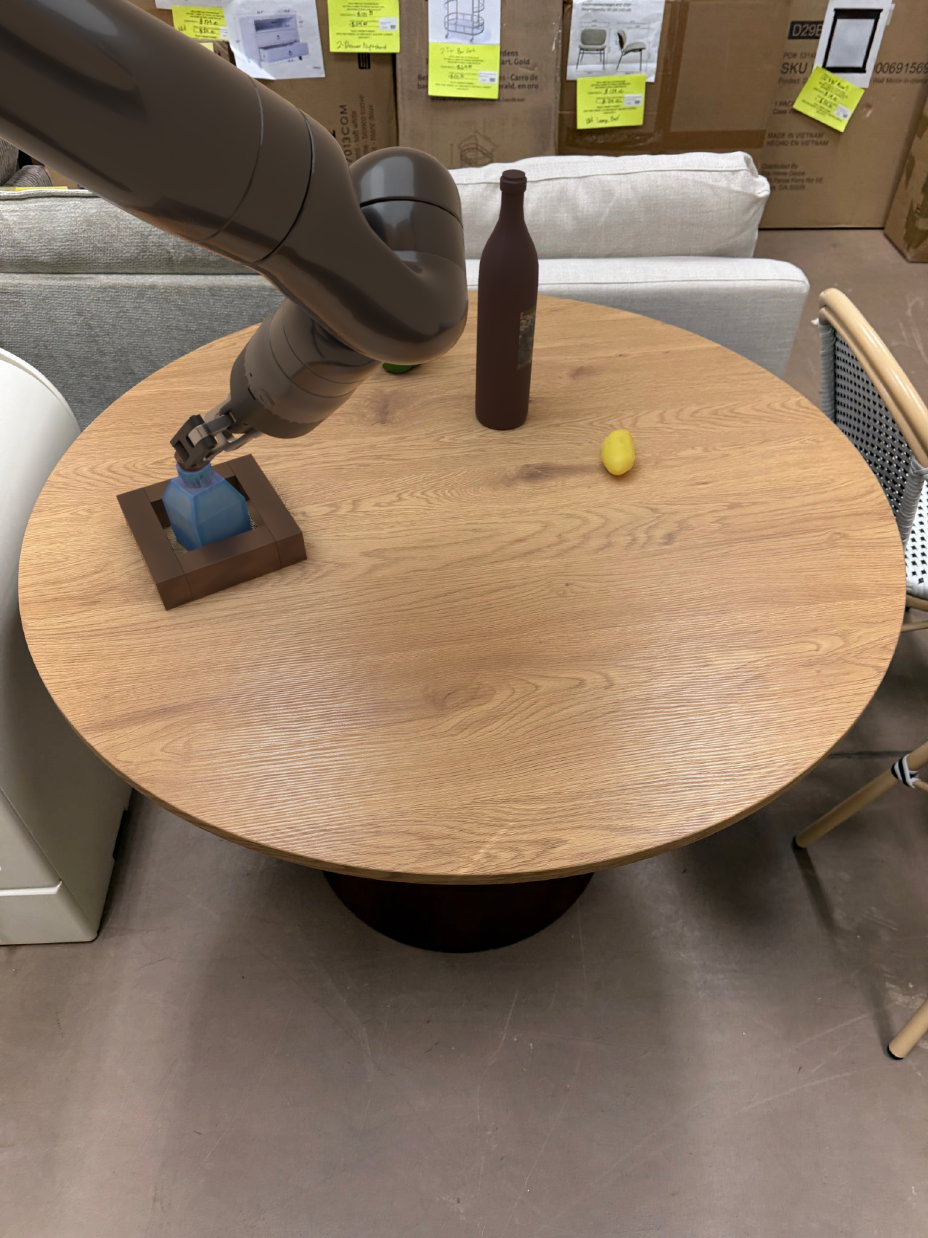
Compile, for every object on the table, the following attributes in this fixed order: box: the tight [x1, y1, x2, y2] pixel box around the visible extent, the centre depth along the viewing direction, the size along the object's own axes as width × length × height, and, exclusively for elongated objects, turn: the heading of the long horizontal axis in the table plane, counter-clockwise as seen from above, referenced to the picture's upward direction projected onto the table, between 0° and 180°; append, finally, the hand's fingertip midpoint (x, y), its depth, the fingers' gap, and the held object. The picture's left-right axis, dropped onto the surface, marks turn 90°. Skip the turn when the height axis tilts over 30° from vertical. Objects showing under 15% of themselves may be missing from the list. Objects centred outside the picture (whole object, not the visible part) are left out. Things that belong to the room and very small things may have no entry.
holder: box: [115, 453, 308, 611], centre depth 90 cm, size 16×16×4 cm
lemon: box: [600, 429, 636, 476], centre depth 100 cm, size 4×8×4 cm, turn 167°
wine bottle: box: [474, 168, 540, 430], centre depth 97 cm, size 7×7×30 cm
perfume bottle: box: [162, 451, 253, 552], centre depth 87 cm, size 6×6×12 cm
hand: (237, 436), depth 72 cm, fingers open, 8 cm apart
